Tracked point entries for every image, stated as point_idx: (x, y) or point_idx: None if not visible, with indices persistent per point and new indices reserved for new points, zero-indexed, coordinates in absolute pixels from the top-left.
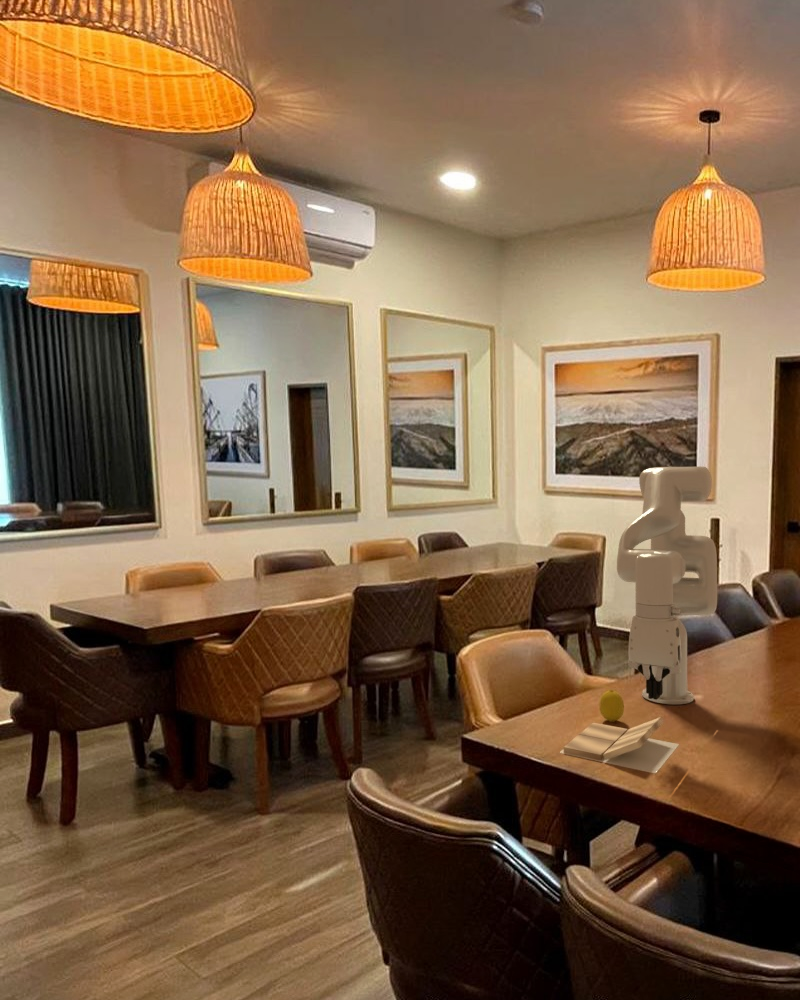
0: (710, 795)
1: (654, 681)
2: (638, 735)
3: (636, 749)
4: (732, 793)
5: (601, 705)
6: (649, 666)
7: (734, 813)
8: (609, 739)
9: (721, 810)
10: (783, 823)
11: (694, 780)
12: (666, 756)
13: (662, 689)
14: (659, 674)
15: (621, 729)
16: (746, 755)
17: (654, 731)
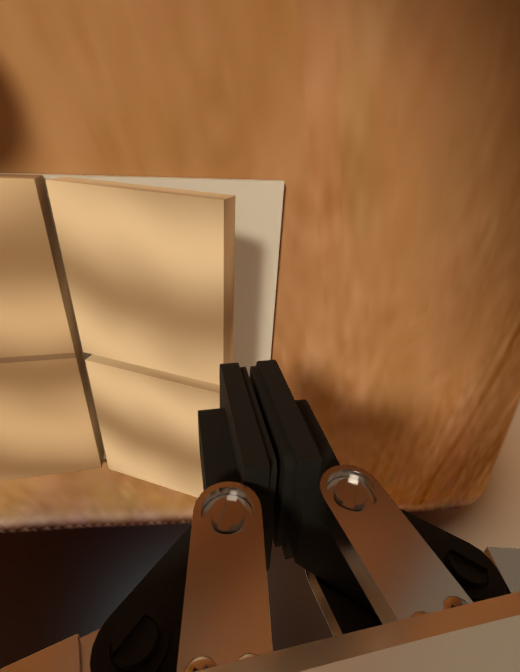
0: (381, 448)
1: (292, 554)
2: (194, 426)
3: None
4: (423, 418)
5: None
6: (239, 639)
7: (416, 480)
8: (47, 349)
9: (397, 483)
10: (484, 465)
11: (349, 407)
12: (265, 325)
13: (314, 416)
14: (359, 610)
15: (12, 202)
16: (504, 147)
17: (232, 351)
